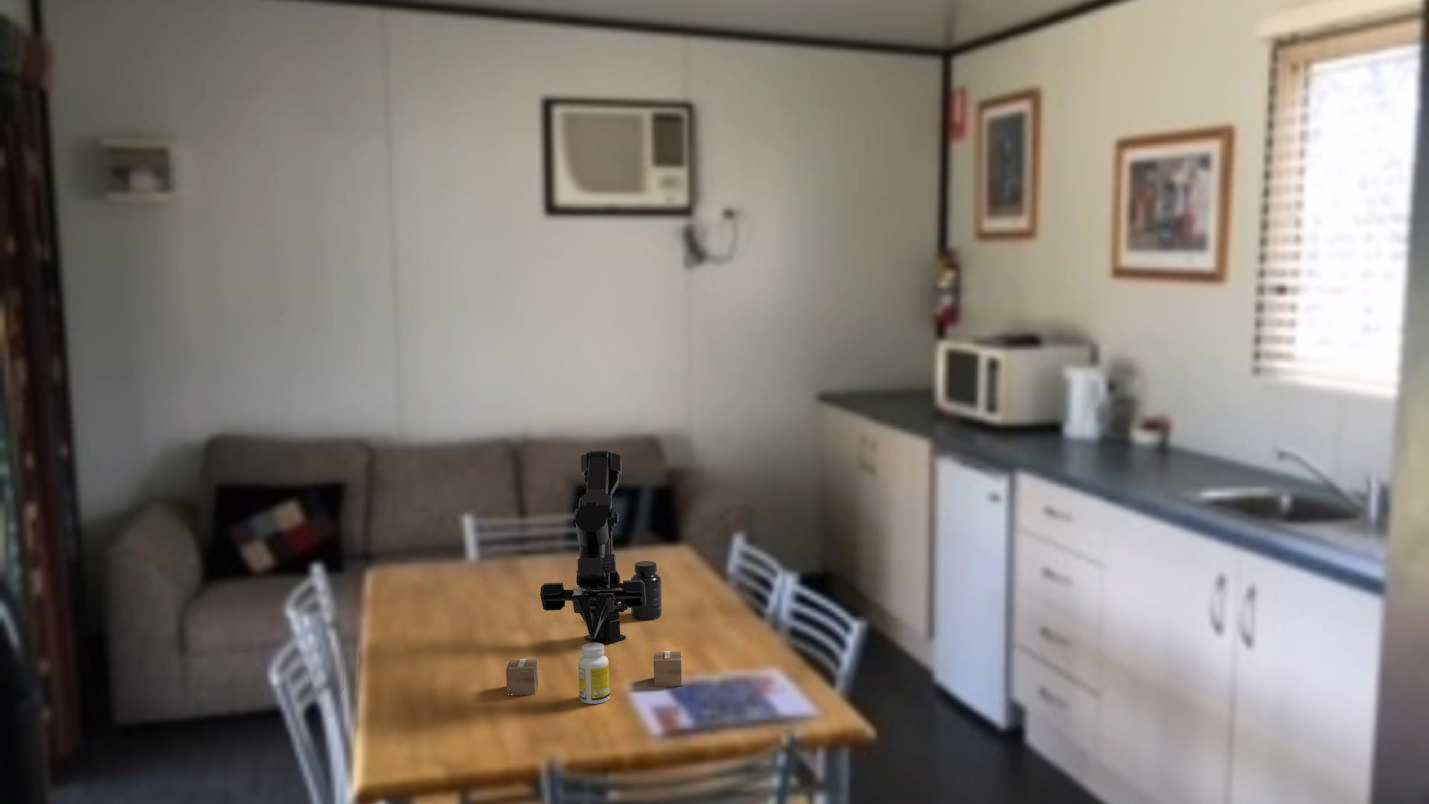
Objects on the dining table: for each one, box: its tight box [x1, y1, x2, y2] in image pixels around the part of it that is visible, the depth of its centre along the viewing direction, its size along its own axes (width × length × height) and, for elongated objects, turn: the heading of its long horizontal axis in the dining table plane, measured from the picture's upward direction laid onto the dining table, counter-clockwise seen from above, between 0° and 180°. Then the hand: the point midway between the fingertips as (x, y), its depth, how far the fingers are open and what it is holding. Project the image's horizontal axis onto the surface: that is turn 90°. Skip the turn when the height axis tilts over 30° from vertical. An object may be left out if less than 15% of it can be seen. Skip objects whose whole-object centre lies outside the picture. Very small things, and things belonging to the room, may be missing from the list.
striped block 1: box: [505, 658, 539, 696], centre depth 210 cm, size 5×5×5 cm
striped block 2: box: [653, 650, 683, 688], centre depth 213 cm, size 5×5×5 cm
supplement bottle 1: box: [577, 642, 611, 705], centre depth 205 cm, size 5×5×10 cm
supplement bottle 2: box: [630, 560, 663, 621], centre depth 254 cm, size 7×7×12 cm
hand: (592, 637), depth 204 cm, fingers closed
